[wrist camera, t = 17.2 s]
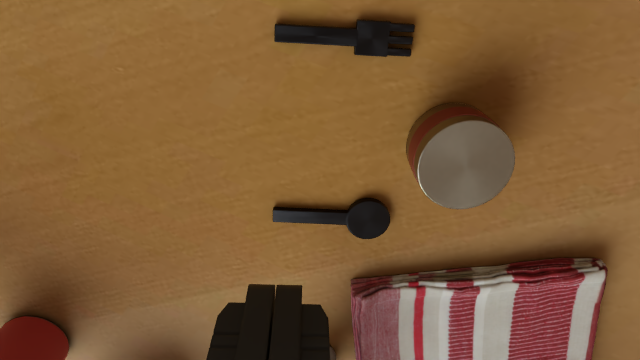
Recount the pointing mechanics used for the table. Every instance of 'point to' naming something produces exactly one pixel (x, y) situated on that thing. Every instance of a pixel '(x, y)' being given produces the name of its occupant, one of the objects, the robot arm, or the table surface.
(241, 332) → the robot arm
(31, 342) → the beer can
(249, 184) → the table surface
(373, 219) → the spoon
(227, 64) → the table surface
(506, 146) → the tin can
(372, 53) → the fork
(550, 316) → the dish towel
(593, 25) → the table surface
